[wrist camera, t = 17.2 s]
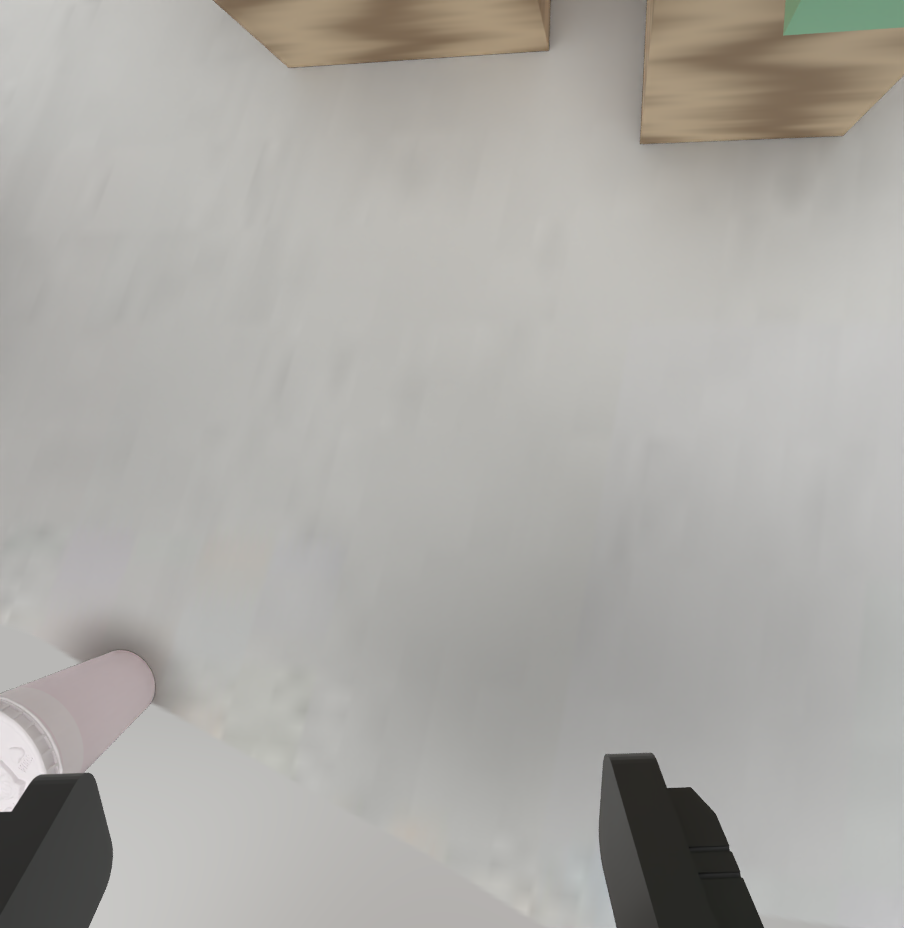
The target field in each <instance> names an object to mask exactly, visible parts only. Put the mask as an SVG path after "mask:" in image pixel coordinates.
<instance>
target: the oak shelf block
mask: <svg viewBox="0 0 904 928" xmlns="http://www.w3.org/2000/svg"><path fill="white" fill-rule="evenodd" d="M213 1H214V2H215V3H217V4H218V5H219V6H220V7H221V8H222V9H223V10H224V11H225V12H227V13H228V14H229V15H230V16H231V17H232V18H233V19H234V20H236V21H237V22H238V23H239V24H240V25H241V26H242V27H243V28H245V29H246V30H247V31H248V32H249V33H250V34H251V35H252V36H254V37H255V38H256V39H257V40H258V41H259V42H260V43H261V44H263V45H264V46H265V47H266V48H267V49H268V50H269V51H270V52H272V53H273V54H274V55H275V56H276V57H277V58H278V59H279V60H281V61H282V62H283V63H284V64H285V65H286V66H287V67H288V68H292V67H307V66H322V65H337V64H352V63H367V62H382V61H397V60H412V59H427V58H443V57H458V56H473V55H488V54H503V53H518V52H533V51H548V50H549V36H550V4H551V0H213Z"/></svg>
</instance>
